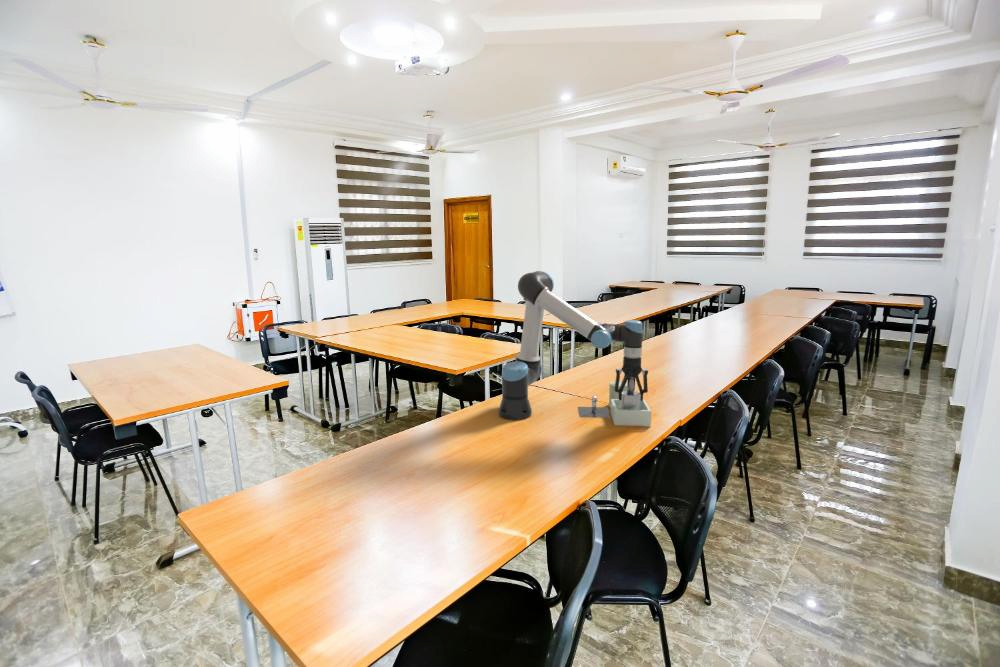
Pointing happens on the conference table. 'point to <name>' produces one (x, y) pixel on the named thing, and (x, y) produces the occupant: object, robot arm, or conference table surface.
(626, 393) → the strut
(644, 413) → the bin
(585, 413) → the stud plate
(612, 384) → the can
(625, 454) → the conference table surface
